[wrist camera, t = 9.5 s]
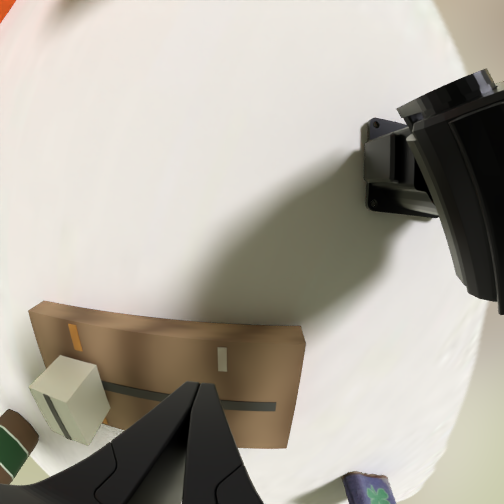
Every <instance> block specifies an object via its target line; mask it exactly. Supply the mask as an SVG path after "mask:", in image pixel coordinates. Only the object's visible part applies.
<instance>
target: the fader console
mask: <svg viewBox="0 0 504 504" xmlns="http://www.w3.org/2000/svg"><path fill="white" fill-rule="evenodd" d="M28 312H29V316H30V319H31V323H32V327H33V330H34V334H35V337H36V340H37V343H38V346H39V349H40V352H41V355H42V358H43V361H44V364H45V366H46V369H47V368H48V367H49V366H50V365H51V364H52V363H53V362H54V361H55V360H56V359H57V358H58V357H59V356H60V355H62V356H65V357H69V358H72V359H76V360H79V361H83V362H87V363H91V364H95V365H96V366H97V369H98V372H99V376H100V379H101V382H102V385H103V388H104V391H105V394H106V397H107V400H108V402H109V405H110V410H109V412H108V413H107V415H106V417H105V418H104V420H103V422H102V424H105V425H108V426H112V427H115V428H119V429H123V430H126V429H128V428H129V427H130V426H132V425H133V424H134V423H135V422H137V421H138V420H139V419H141V418H142V417H143V416H144V415H146V414H147V413H148V412H149V411H151V410H152V409H153V408H154V407H156V406H157V405H158V404H159V403H160V402H162V401H163V400H164V399H165V398H167V397H168V396H169V395H170V394H171V393H173V392H174V391H175V390H176V389H177V388H179V387H180V386H181V385H182V384H183V383H185V382H186V381H194V382H199V383H200V384H201V383H213V384H215V386H216V389H217V392H218V395H219V398H220V401H221V404H222V407H223V410H224V413H225V415H226V418H227V421H228V424H229V427H230V429H231V432H232V435H233V437H234V440H235V443H236V445H237V448H261V449H279V448H287V443H288V439H289V434H290V430H291V425H292V420H293V415H294V410H295V405H296V399H297V394H298V388H299V383H300V377H301V371H302V365H303V359H304V352H305V346H306V342H305V339H304V336H303V332H302V329H301V326H270V325H243V324H224V323H209V322H195V321H183V320H173V319H163V318H153V317H144V316H136V315H128V314H121V313H113V312H106V311H100V310H93V309H87V308H81V307H75V306H69V305H64V304H59V303H53V302H48V301H43V302H41V303H40V304H38V305H36V306H35V307H33V308H32V309H30V310H29V311H28Z"/></svg>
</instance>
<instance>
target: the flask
mask: <svg viewBox="0 0 504 504" xmlns="http://www.w3.org/2000/svg"><path fill="white" fill-rule="evenodd" d="M342 480H343V483H344V486H345V490H346V495H347V498H348V501H349V504H396V502H395V498H394V496H393V493H392V490H391V487H390V484H389V482H388V478H387V477H386V476H384V475H381V476H379V475H376V474H369V475H367V473H365V474H363V473H362V472H361V473H360V472H357V471H354V472H348V473H347V474H345V475H343V477H342Z"/></svg>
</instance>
